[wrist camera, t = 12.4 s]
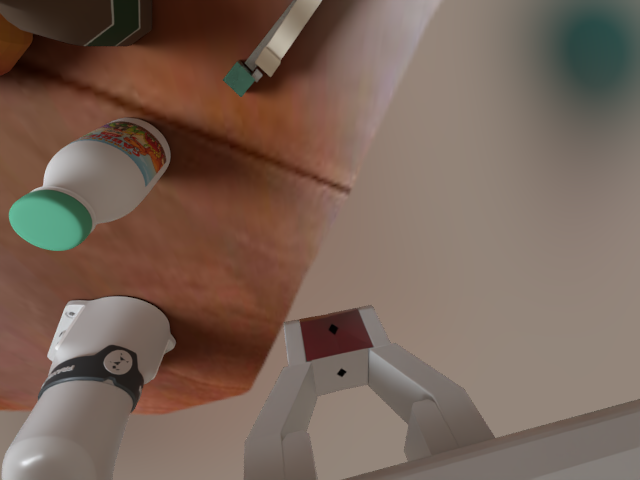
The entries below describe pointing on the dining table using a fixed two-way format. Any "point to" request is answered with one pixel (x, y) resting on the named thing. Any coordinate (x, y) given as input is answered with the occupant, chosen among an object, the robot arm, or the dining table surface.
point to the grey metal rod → (266, 40)
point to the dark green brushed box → (241, 78)
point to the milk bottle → (92, 184)
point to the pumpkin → (12, 44)
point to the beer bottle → (82, 20)
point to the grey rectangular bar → (286, 35)
